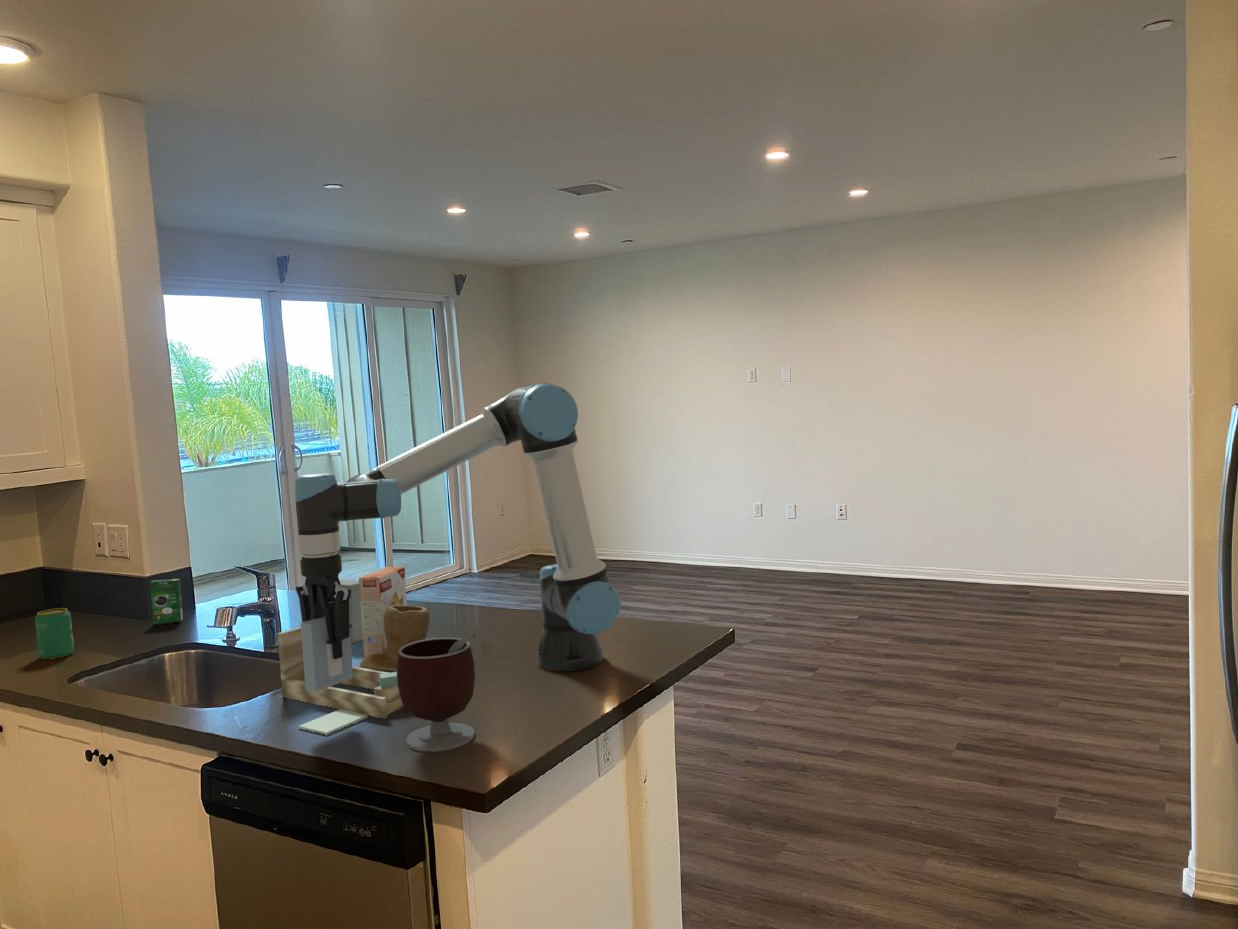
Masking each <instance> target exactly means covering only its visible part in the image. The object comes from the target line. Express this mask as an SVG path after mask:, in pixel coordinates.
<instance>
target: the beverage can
mask: <svg viewBox="0 0 1238 929" xmlns="http://www.w3.org/2000/svg"><path fill="white" fill-rule="evenodd" d="M34 623H35V625H34V626H35V632H36V634H35V635H36V640H37V641H36V642H37V650H38V656H39V657H40V659H41V658H44V659H50V658H58V657H62V656H66V657H69V656H71V655H73V652H74V650H75V646H74V645H75V644H74V635H73V634H74V633H73V626H72V615H71V612H70V611H69V610H68V608H67V607H60V608H59V607H57V608H50V609H46V610H41V611H39V612H37V613H36V616H35V618H34ZM70 654H71V655H70ZM68 655H69V656H68ZM58 659H59V658H58Z"/></svg>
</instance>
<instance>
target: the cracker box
mask: <svg viewBox="0 0 1238 929" xmlns="http://www.w3.org/2000/svg"><path fill="white" fill-rule="evenodd" d="M358 581H359V587H360V604H361V620H362V636H363V640H362V650H363V660H364V659H365V658H366V657H368V656H370V655H373V654H379V653H385V652H386V651H387V650H388V645H387V640H386V635H385V629H384V615H385V612H386V610H387V608H388V607H389V606H393V605H402V606H403V605H407V606H408V604H407V602H408V601H407V587H406V570H405V567H404V566H385V567H382V568H380V569H378V570H375V571H372V572H370V573H368V574H365V575H363V576H361V577H359V578H358Z"/></svg>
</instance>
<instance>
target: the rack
mask: <svg viewBox="0 0 1238 929" xmlns="http://www.w3.org/2000/svg"><path fill="white" fill-rule="evenodd" d="M276 634H277V645H278V646H277V647H278V658H279V659H278V660H279V667H280V668H279V669H280V680H281V681H280V682H281V691H282V693H281V694H282V698H283V697H285V699H288V700H293V699H296V700H295V701H297V700H300V701H299V702H302V701H303V702H304V703H307V702H308V704H312V705H316V706H321V705H323V706H322V707H325V706H328V707H327V708H330V707H333V708H332V709H335V708H337V709H336V710H339V709H341V710H346V711H352V712H356V713H360V714H365V715H369V716H368V717H372V716H373V717H372V718H377V719H381V718H385V719H387V718H388V717H389V716H388V715H389V714H387V701H386V697H381V696H376V695H374V694H369V693H365V692H359V691H355V690H349V689H344V688H338V687H334V686H330V687H328V688H325V689H322V690H320V691H317V692H314V691H310V690H306V688H305V675H304V662H303V649H302V636H301V626H298V627H295V628H291V629H288V630H284V631H281V632H278V633H276ZM352 668H353V678H352V679H349V680H347V681H344V682H341V683H340V684H343V685H348V686H354V687H357V688H358V687H359V688H363V687H364V688H363V689H368V688H369V690H373V689H374V688H376V687H378V686H380V678H379V674H384V673H389V672H387V671H379V670H372V669H366V668H361V667H360V666H359V667H358V666H353V665H352Z"/></svg>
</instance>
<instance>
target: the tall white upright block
mask: <svg viewBox="0 0 1238 929" xmlns="http://www.w3.org/2000/svg"><path fill="white" fill-rule="evenodd" d="M300 627H301V636H302V649H303V662H304V675H305V688H306V690H310V691H314V692H317V691H320V690H322V689H325V688H328V687H334V686H335V685H338V684H342V683H341V682H344V681H347V680H349V679H352V678H353V668H352V666H353V657H352V644H351V640H350V636H349V638H346V639H344V640H342V653H343V656H342V671H343V673H341V674H338V675H335V676H333V677H329V672H328V658H327V645H326V641H329V636H328V630H327V625H326V619H325V616H323V617H319V618H316V619H313V620H309V621H306V622H302V621H301V622H300ZM349 630H350V627H349Z"/></svg>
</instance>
